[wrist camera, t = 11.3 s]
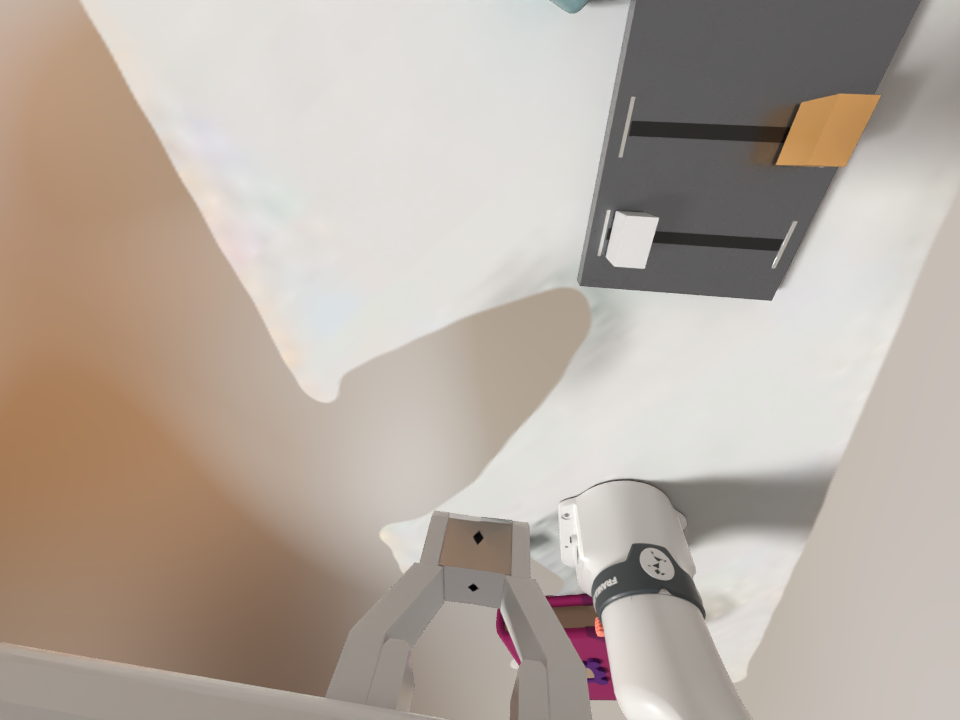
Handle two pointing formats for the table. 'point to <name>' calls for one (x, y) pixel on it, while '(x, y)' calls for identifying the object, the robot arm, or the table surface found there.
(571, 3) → the flower pot
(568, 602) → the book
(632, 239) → the block
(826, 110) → the fader
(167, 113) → the table surface
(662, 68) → the console
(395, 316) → the table surface
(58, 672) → the robot arm
